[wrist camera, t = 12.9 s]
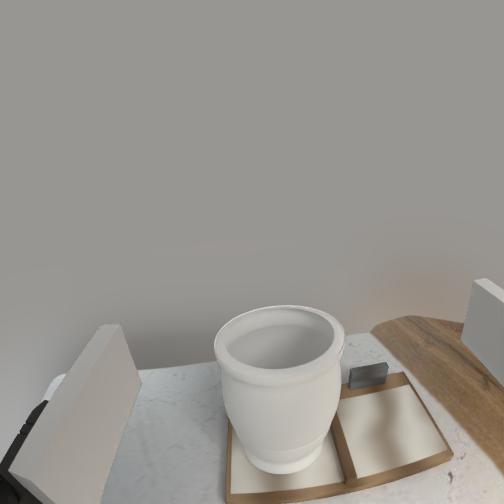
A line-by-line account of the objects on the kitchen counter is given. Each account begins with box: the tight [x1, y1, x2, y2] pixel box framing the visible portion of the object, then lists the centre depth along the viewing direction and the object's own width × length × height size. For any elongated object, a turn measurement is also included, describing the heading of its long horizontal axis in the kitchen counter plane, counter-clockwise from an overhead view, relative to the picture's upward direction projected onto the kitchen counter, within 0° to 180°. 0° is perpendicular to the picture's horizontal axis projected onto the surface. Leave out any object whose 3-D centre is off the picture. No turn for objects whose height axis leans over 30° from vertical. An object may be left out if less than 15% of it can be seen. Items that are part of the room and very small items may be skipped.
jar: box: [214, 305, 345, 474], centre depth 26 cm, size 11×10×15 cm
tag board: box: [226, 362, 454, 504], centre depth 29 cm, size 24×16×4 cm, turn 92°
